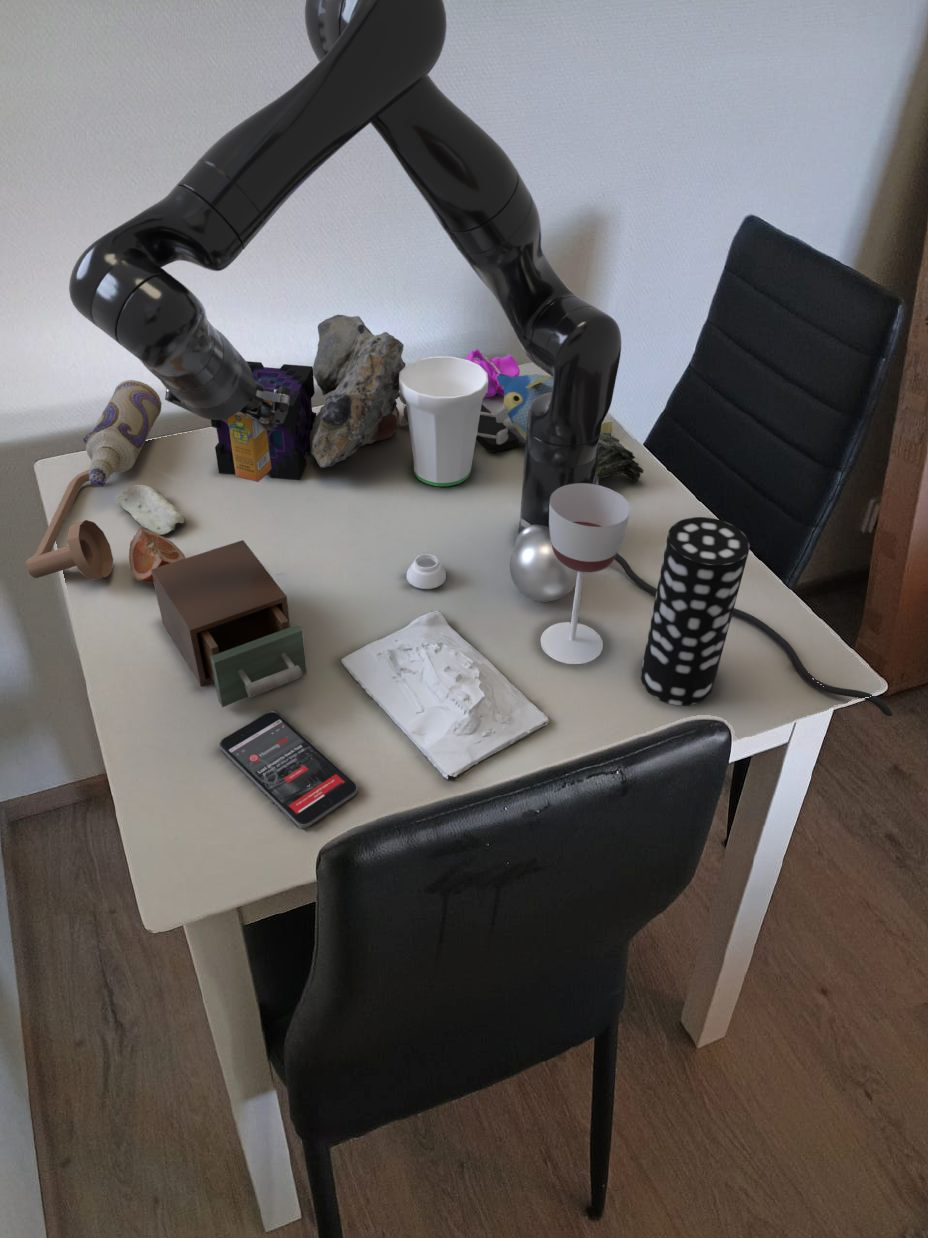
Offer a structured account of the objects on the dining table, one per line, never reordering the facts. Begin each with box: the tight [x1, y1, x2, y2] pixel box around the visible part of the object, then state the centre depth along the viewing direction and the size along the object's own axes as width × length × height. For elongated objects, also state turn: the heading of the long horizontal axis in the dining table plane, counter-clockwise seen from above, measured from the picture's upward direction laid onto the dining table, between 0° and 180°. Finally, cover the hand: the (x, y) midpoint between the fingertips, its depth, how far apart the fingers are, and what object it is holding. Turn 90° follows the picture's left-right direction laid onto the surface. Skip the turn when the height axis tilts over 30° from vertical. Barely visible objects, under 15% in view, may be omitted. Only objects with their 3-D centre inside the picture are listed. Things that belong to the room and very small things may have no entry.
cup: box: [399, 355, 488, 487], centre depth 144 cm, size 12×12×15 cm
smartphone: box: [219, 710, 358, 829], centre depth 104 cm, size 7×1×15 cm
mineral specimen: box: [595, 433, 644, 483], centre depth 147 cm, size 15×13×10 cm
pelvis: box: [465, 349, 521, 398], centre depth 165 cm, size 12×10×7 cm
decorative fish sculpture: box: [497, 373, 613, 441], centre depth 154 cm, size 12×20×15 cm
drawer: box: [197, 605, 308, 708], centre depth 112 cm, size 15×10×7 cm, turn 32°
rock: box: [309, 314, 407, 468], centre depth 144 cm, size 25×21×15 cm
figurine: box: [398, 391, 509, 444], centre depth 154 cm, size 7×6×18 cm
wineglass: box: [539, 483, 631, 665], centre depth 114 cm, size 8×9×20 cm
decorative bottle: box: [82, 379, 163, 487], centre depth 146 cm, size 26×8×7 cm, turn 1°
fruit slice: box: [128, 526, 186, 584], centre depth 127 cm, size 8×7×5 cm
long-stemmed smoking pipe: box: [25, 469, 114, 581], centre depth 133 cm, size 25×9×8 cm, turn 3°
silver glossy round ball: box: [509, 525, 578, 602], centre depth 125 cm, size 9×10×10 cm
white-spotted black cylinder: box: [640, 516, 751, 706], centre depth 110 cm, size 8×8×20 cm
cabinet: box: [151, 539, 291, 687], centre depth 117 cm, size 12×11×8 cm
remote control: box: [476, 403, 518, 453], centre depth 158 cm, size 5×2×15 cm
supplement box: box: [228, 415, 271, 483], centre depth 115 cm, size 3×3×10 cm
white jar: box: [406, 553, 447, 590], centre depth 128 cm, size 5×3×5 cm
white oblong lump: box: [117, 484, 187, 536], centre depth 138 cm, size 12×5×4 cm
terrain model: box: [340, 610, 550, 780], centre depth 113 cm, size 17×23×5 cm
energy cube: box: [210, 360, 317, 481], centre depth 147 cm, size 12×12×12 cm
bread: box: [374, 406, 400, 442], centre depth 156 cm, size 11×11×5 cm
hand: (252, 419), depth 115 cm, fingers closed on supplement box, 3 cm apart
